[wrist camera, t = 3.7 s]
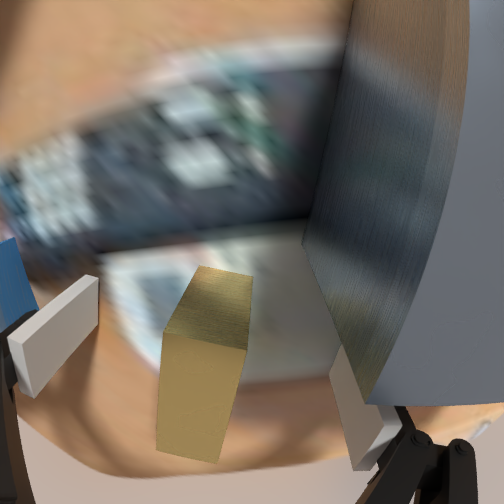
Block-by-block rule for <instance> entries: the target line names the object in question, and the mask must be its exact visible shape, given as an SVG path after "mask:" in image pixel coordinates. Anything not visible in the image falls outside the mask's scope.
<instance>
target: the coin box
mask: <svg viewBox="0 0 504 504" xmlns="http://www.w3.org/2000/svg"><path fill="white" fill-rule="evenodd" d="M301 244H302V246H303V249H304V251H305V253H306V256H307V258H308V260H309V263H310V265H311V268H312V270H313V272H314V275H315V277H316V280H317V282H318V284H319V287H320V289H321V292H322V294H323V297H324V299H325V302H326V304H327V306H328V309H329V311H330V314H331V316H332V319H333V321H334V324H335V327H336V329H337V332H338V334H339V337H340V339H341V342H342V345H343V347H344V350H345V352H346V355H347V358H348V360H349V363H350V366H351V368H352V371H353V374H354V376H355V379H356V382H357V384H358V387H359V390H360V393H361V395H362V398H363V401H364V404H368V405H389V406H455V405H475V404H489V403H500V402H504V0H354V1H353V7H352V13H351V19H350V25H349V31H348V36H347V42H346V47H345V53H344V58H343V63H342V68H341V73H340V78H339V83H338V88H337V93H336V98H335V103H334V108H333V112H332V117H331V122H330V126H329V131H328V135H327V140H326V144H325V149H324V153H323V158H322V162H321V166H320V171H319V175H318V179H317V183H316V187H315V192H314V196H313V200H312V204H311V208H310V212H309V216H308V220H307V224H306V228H305V232H304V236H303V239H302V243H301Z"/></svg>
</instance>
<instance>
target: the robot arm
mask: <svg viewBox="0 0 504 504" xmlns="http://www.w3.org/2000/svg"><path fill="white" fill-rule="evenodd" d="M97 325H98V278H97V277H93V276H90V275H85V276H83V277H82V278H81V279H79V280H78V281H77V282H75V283H74V284H73V285H71V286H70V287H69V288H67V289H66V290H65V291H64V292H62V293H61V294H60V295H58V296H57V297H56V298H55V299H53V300H52V301H51V302H49V303H48V304H47V305H46V306H44V307H43V308H42V309H41V310H39V311H38V310H36V309H34V310H32V311H29V312H26V313H25V314H24V315H22V316H21V317H20V318H19V319H17V320H16V321H15V322H14V323H12V324H11V325H10V326H8V327H7V328H6V329H5V330H4V331H2V332H1V333H0V504H36V503H35V500H34V496H33V493H32V489H31V485H30V481H29V478H28V473H27V469H26V464H25V460H24V455H23V450H22V445H21V439H20V434H19V427H18V420H17V412H16V404H15V394H14V390H13V386H14V385H15V384H16V382H17V381H18V385H19V389H20V392H22V393H24V394H26V395H28V396H30V397H32V398H34V399H35V398H36V396H37V395H38V394H39V393H40V391H41V390H42V389H43V388H44V387H45V385H46V384H47V383H48V382H49V380H50V379H51V378H52V377H53V376H54V374H55V373H56V372H57V371H58V370H59V368H60V367H61V366H62V365H63V364H64V362H65V361H66V360H67V359H68V358H69V357H70V355H71V354H72V353H73V352H74V351H75V350H76V348H77V347H78V346H79V345H80V344H81V343H82V342H83V340H84V339H85V338H86V337H87V336H88V335H89V334H90V332H91V331H92V330H93V329H94V328H95V327H96V326H97ZM329 377H330V381H331V385H332V388H333V392H334V396H335V400H336V404H337V408H338V411H339V415H340V419H341V423H342V427H343V431H344V435H345V439H346V443H347V447H348V452H349V456H350V460H351V464H352V468H353V471H370V470H371V469H372V467H373V466H374V465H375V463H376V462H377V464H378V467H379V470H378V471H377V472H376V474H375V475H374V476H373V478H372V479H371V480H370V481H369V482H368V483H367V484H368V486H367V488H366V489H365V490H364V492H363V493H362V495H361V496H360V498H359V499H358V500H357V502H356V503H355V504H409V503H410V501H411V499H412V497H413V494H414V492H415V497H414V504H478V489H477V472H476V460H475V452H474V448H473V447H472V446H471V445H470V443H469V442H467V441H465V440H463V439H453V440H452V441H451V442H450V443H449V445H448V446H442V445H437V444H433V441H432V439H431V438H430V436H429V435H428V434H426V433H424V432H423V431H420V430H416V427H415V425H414V423H413V421H412V419H411V417H410V415H409V413H408V411H407V410H406V407H405V406H389V405H368V404H364V401H363V398H362V395H361V393H360V390H359V387H358V384H357V382H356V379H355V376H354V374H353V371H352V368H351V366H350V363H349V360H348V358H347V355H346V352H345V350H344V347H343V345H342V343H341V345H340V348H339V350H338V353H337V355H336V358H335V360H334V363H333V365H332V368H331V370H330V372H329Z"/></svg>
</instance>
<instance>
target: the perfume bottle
mask: <svg viewBox="0 0 504 504" xmlns="http://www.w3.org/2000/svg"><path fill="white" fill-rule="evenodd" d="M34 309H36V310H38V311H39V307H38V305H37V302H36V300H35V297H34V295H33V292H32V289H31V286H30V284H29V281H28V278H27V275H26V272H25V269H24V266H23V263H22V260H21V257H20V254H19V251H18V247H17V244H16V240H15V237H13V238H11V239H8V240H5V241H2V242H0V333H1V332H2V331H4V330H5V329H6V328H7V327H8V326H10V325H11V324H12V323H14V322H15V321H16V320H17V319H19V318H20V317H21V316H22V315H24V314H25V313H26V312H29V311H32V310H34Z"/></svg>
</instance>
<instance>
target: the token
mask: <svg viewBox="0 0 504 504" xmlns="http://www.w3.org/2000/svg"><path fill="white" fill-rule="evenodd" d="M252 283H253V277H252V276H247V275H242V274H237V273H233V272H228V271H223V270H219V269H214V268H210V267H205V266H200V265H199V267H198V269H197V270H196V272H195V274H194V276H193V278H192V279H191V281H190V283H189V285H188V287H187V289H186V290H185V292H184V294H183V296H182V298H181V300H180V301H179V303H178V305H177V307H176V309H175V311H174V313H173V314H172V316H171V318H170V320H169V322H168V324H167V326H166V328H165V329H164V331H163V340H162V351H161V364H160V378H159V394H158V413H157V440H156V450H158V451H161V452H165V453H169V454H173V455H177V456H181V457H186V458H190V459H195V460H199V461H204V462H210V463H215V464H217V463H218V459H219V455H220V452H221V448H222V444H223V441H224V437H225V433H226V430H227V426H228V422H229V418H230V415H231V411H232V407H233V403H234V399H235V396H236V392H237V388H238V384H239V380H240V377H241V373H242V369H243V365H244V361H245V357H246V353H247V347H248V334H249V321H250V309H251V296H252Z"/></svg>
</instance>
